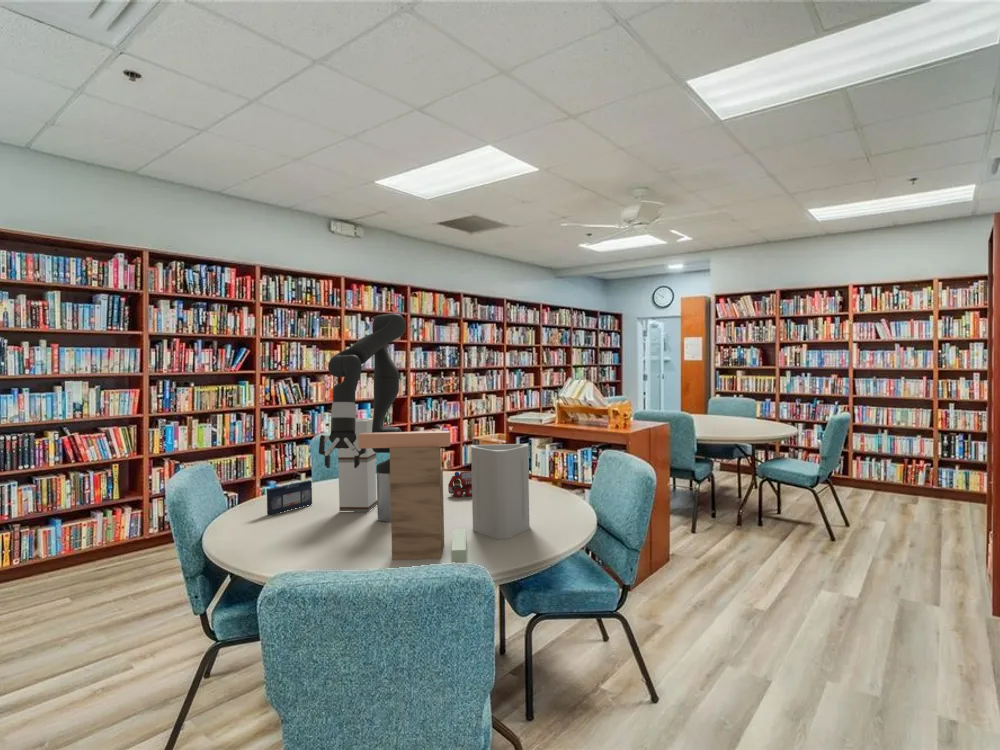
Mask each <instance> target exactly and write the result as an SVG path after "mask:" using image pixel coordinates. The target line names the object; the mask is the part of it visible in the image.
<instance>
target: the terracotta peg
mask: <svg viewBox="0 0 1000 750" xmlns="http://www.w3.org/2000/svg"><path fill="white" fill-rule="evenodd" d="M358 444H359V448H402V447H445V448H446V447H451V431H450V430H437V431H436V430H430V431H429V430H428V431H426V430H425V431H402V432H378V433H360V434H358Z"/></svg>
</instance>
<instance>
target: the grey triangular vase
mask: <svg viewBox="0 0 1000 750" xmlns="http://www.w3.org/2000/svg"><path fill="white" fill-rule="evenodd" d="M470 449H471V452H470V454H471V456H470V457H471V461H470V462H471V471H472V496H471V497H472V498H471V503H472V505H471V506H472V507H471V508H472V510H471V511H472V531H474V532H476V533H479V534H482V535H484V536H487V537H489V538H493V539H496V540H509V539H510V538H512V537H515V536H518V535H519V534H521V533H524V532H526V531H528V530H530V491H529V490H530V488H529V487H530V484H529V483H530V482H529V481H530V480H529V478H530V476H529V445H528V443H507V444H503V443H502V444H500V443H499V444H498V443H497V444H472V445H471V446H470Z"/></svg>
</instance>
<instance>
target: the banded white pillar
mask: <svg viewBox="0 0 1000 750" xmlns="http://www.w3.org/2000/svg"><path fill="white" fill-rule="evenodd" d="M372 424H373V417H372V418H371V417H370V418H369V417H368V418H366V417H364V418H358V417H356V422H355V434H356V436H358V434H360V433H372ZM353 444H354V445H355V447H356V448H357V450H358V451H361V448H359V444H358V439H356V440H355V442H354V443H353ZM354 456H355V454H354V452H353V451H352V450H351V449H350V448H348V449H344V448H341V449H337V460H338V461H337V462H338V469H337V470H338V493H339V494H338V496H339V497H338V501H339V502H338V506H339V512H340V511H354V512H353V513H366V512H368V513H370V512H371V511H372V510H373V509H375V508H376V507H377V506H376V505H377V469H376V467H377V463H376V462H377V453H375V452H374V451H373V449H372V448H366V453H364V454H361V455H360V464H359V466H357V468H354ZM375 506H376V507H375ZM374 507H375V508H374ZM372 508H373V509H372ZM371 509H372V510H371ZM370 510H371V511H370ZM369 511H370V512H369Z"/></svg>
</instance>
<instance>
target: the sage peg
mask: <svg viewBox="0 0 1000 750" xmlns="http://www.w3.org/2000/svg"><path fill="white" fill-rule="evenodd" d="M451 542H452V544H451V563H452V562H466V563H467V528H453V532H452V541H451Z"/></svg>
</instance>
